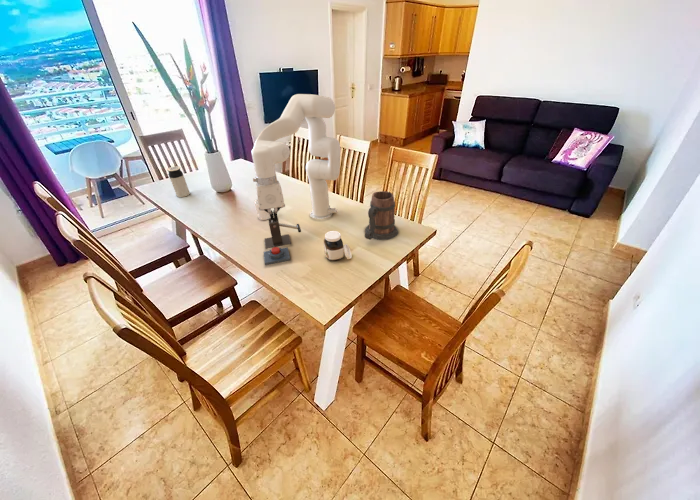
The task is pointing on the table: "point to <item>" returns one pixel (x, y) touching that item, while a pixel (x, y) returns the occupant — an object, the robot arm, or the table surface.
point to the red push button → (275, 250)
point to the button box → (276, 256)
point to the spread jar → (335, 246)
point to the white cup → (261, 212)
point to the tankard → (381, 217)
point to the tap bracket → (276, 236)
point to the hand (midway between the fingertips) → (274, 220)
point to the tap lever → (290, 226)
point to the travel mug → (178, 181)
